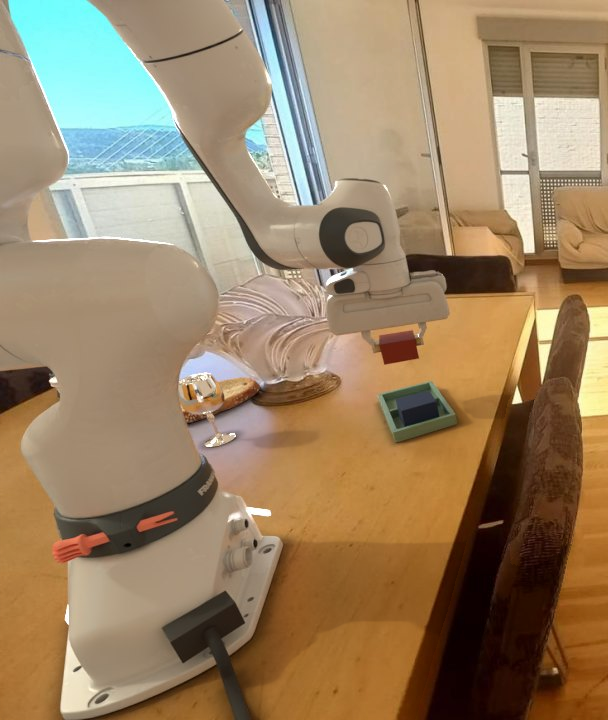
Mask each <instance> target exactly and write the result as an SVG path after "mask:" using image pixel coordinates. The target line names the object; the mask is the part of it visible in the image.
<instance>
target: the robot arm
mask: <svg viewBox="0 0 608 720" xmlns="http://www.w3.org/2000/svg"><path fill="white" fill-rule="evenodd" d="M86 2H88V3H90V4H91V5H92V6H93V7H94V8H96V9H97V10H98V11H99V12H100V13H101V14H102V15H103V16H104V17H105V18H106V19H107V21H108V22H109V24H110V25H111V26H112V28H113V30H114V31H115V32H116V33H117V35H118V36H119V38H120V39H121V40H122V41H123V43H124V45H125V46H126V47H127V48H128V49H129V51H130V53H131V54H133V56H134V57H135V58H136V60H137V61H138V62H139V63H140V65H141V66H142V67H143V68H144V70H145V71H146V72H147V74H148V75H149V76H150V77H151V79H152V80H153V82H154V83H155V85H156V86H157V88H158V90H159V91H160V93H161V94H162V96H163V97H164V99H165V101H166V102H167V105H168V106H169V108H170V110H171V111H170V113H171V118H172V121H173V124H174V126H175V128H176V131H177V132H178V134H179V136H180V137H181V139H182V141H183V143H184V144H185V146H186V148H187V149H188V150H189V152H190V153H191V155H192V156H193V158H194V159H195V160H196V162H197V163H198V165H199V166H200V167H201V169H202V170H203V172H204V174H205V175H206V177H207V178H208V179H209V181H210V182H211V184H212V185H213V186H214V188H215V189H216V191H217V192H218V193H219V195H220V196H221V198H222V199H223V201H224V202H225V204H226V206H227V207H228V208H229V209H230V211H231V213H232V214H233V215H234V217H235V219H236V221H237V223H238V225H239V227H240V230H241V232H242V234H243V237H244V239H245V242H246V244H247V246H248V248H249V249H250V251H251V253H252V254H253V255H254V256H255V258H256V259H257V260H258V261H260V262H261V263H262V264H264V265H266V266H267V267H269V268H271V269H274V270H279V271H290V270H291V271H294V270H304V269H306V270H307V269H308V270H312V269H313V270H344V271H341V272H338V273H336V274H333V275H331V276H330V277H329V278H328V279H327V281H326V282H325V289H326V292H327V294H328V296H327V299H326V303H325V316H326V322H327V326H328V330H329V332H330V333H331V334H333V335H335V336H337V337H339V336H344V335H350V334H357V333H360V334H361V338H362V339H363V340H364V341H366V342H367V343H368V345H370V346H371V349H372V353H373V354H377V353H381V349H380V345H379V340H375V339H374V338H373V337H372V336H371V335H372V331H377V330H378V331H379V330H385V329H390V328H397V327H403V326H404V327H405V326H411V325H416V324H417V327H418V329H419V331H418V333H417V334H414V337H415V341H416V346H417V347H418V346H419V347H420V346H424V345H425V343H424V335H425V334H426V331H427V323H430V322H436V321H437V322H438V321H442V320H443V321H444V320H447V319H448V318H449V316H450V314H451V311H450V307H449V304H448V300H447V297H446V294H445V293H446V291H447V288H448V285H447V281H446V277H445V276H444V275H443V273H441V272H439V271H436V270H433V269H431V270H427V271H412V272H410V271H409V267H408V261H407V256H406V253H405V251H404V250H403V247H402V245H401V228H400V222H399V217H398V215H397V211H396V210H397V209H396V207H395V203H394V201H393V198H392V195H391V193H390V191H389V190H388V187H387V186H386V185H385V184H384V183H382V182H381V181H377V180H374V179H369V178H357V177H350V178H349V177H348V178H347V177H346V178H340V179H338V180H336V181H335V183H334V189H333V190H332V191H331V192H330V194H328V196H327V197H325V198H324V199H323V200H321V201H319V202H317V203H316V204H305V205H304V204H303V205H302V204H301V205H297V204H296V205H295V204H291V203H288V202H286V201H284V200H282V199H281V198H280V197H278V196H277V195H276V193H274V191H273V189H272V187H271V186H270V184H269V183H268V181H267V179H266V177H264V174H263V173H262V171H261V170H260V168H259V166H258V165H257V163H256V161H255V159H254V158H253V156H252V155H251V152H250V151H249V148H248V146H247V142H246V135H247V132H248V131H249V129H250V128H252V127H253V126H254V125H255V124H256V123H257V122H259V121H260V120H261V118H263V117H264V115H265V114H266V113H267V111H268V109H269V107H270V104H271V100H272V94H273V81H272V79H271V76H270V74H269V71H268V69H267V66H266V64H265V63H264V60H263V58H262V56H261V55H260V53H259V52H258V50H257V48H256V46H254V44H253V42H252V41H251V38H249V36H248V34H247V32H246V31H245V29H244V28H243V27H242V25H241V23H240V22H239V20H238V18H237V17H236V16H235V14H234V13H233V11H232V9H231V8H230V7H229V5H228V4H227V2H226V1H225V0H86ZM14 22H15V21H14V20H13V18H12V13H11V10H10V3H9V0H0V372H5V371H14V370H15V371H16V370H23V369H24V370H25V369H34V368H45V367H47V368H48V369H49V370H50V371H51V372H52V374H53V373H54V375H55V377H56V379H57V382H58V385H59V390H60V398H59V401H57V402H56V403H53V404H52V405H51V406H50V407H48V408H47V409H45V410H44V411H42V412H41V413H40V414H39V415H38V416H36V417H35V418H34V419H33V420H32V421H31V423H30V424H29V425H28V427H26V430H25V431H24V433H23V436H22V438H21V441H20V452H21V455H22V457H23V458H24V460H25V461H26V463H27V464H28V466H29V467H30V469H31V471H32V472H33V474H34V475H35V477H36V479H37V480H38V482H39V484H40V485H41V487H42V488H43V490H44V492H45V493H46V495H47V496H48V498H49V499H50V501H51V502H52V504H53V505H54V509H53V517H54V520H55V528H56V530H57V534H58V537H59V538H60V539H61V540H58V541H55V542H54V543H53V545H52V548H51V551H52V557H54V558H53V559H54V560H55V561H56V563H57V564H65V563H67V606H66V613H65V617H64V621H65V622H66V623H67V625H68V629H67V630H68V631H67V639H66V648H65V658H64V666H63V667H64V668H63V677H62V686H61V695H60V706H59V712H60V714H61V716H62V719H64V720H87V719H92V718H96V717H100V716H104V715H107V714H110V713H113V712H116V711H120V710H123V709H125V708H128V707H130V706H134V705H136V704H138V703H141V702H143V701H146V700H148V699H150V698H153V697H154V696H157V695H161V694H162V693H164V692H166V691H168V690H170V689H173V688H175V687H178V686H179V685H181V684H183V683H185V682H187V681H190V680H191V679H193V678H194V677H197V676H199V675H200V674H202V673H204V672H206V671H207V670H209V669H211V668H213V667H214V666H217V670H218V672H219V675H220V678H221V681H222V684H223V688H224V691H225V693H226V697H227V699H228V703H229V705H230V709H231V712H232V715H233V718H234V720H252V719H251V715H250V712H249V709H248V706H247V704H246V701H245V698H244V695H243V692H242V689H241V686H240V683H239V680H238V678H237V675H236V672H235V669H234V666H233V663H232V660H231V657H230V656H231V655H232V654H235V653H236V652H237V651H238V650H239V649H240V648H242V647H243V646H244V645H245V644H247V643H248V642H250V640H251V639H252V637H253V636H254V634H255V632H256V630H257V629H256V628H257V626H258V623H259V620H260V617H261V614H262V611H263V607H264V606H265V605H264V604H265V602H266V599H267V595H268V593H269V590H270V587H271V585H272V584H271V583H272V581H273V577H274V575H275V572H276V569H277V566H278V562H279V560H280V557H281V554H282V550H283V548H284V542H283V541H282V539H281V538H280V537H279V536H275V535H263V534H262V533H261V530H260V529H259V526H258V524H257V523H256V521H255V519H254V517H253V515H258V516H264V517H269V516H271V515H272V513H271V510H270V509H265V508H264V509H263V508H257V507H256V508H255V507H249V506H247V504H246V502H245V500H244V498H243V497H242V496H241V495H238V494H235V493H232V492H229V491H227V490H225V489H223V488H221V487H219V481H218V479H217V477H216V474H215V473H216V472H215V470H214V469H215V468H214V467H213V465H212V464H211V463H210V462H209V460H208V458H207V457H206V456H205V455H204V454H202V453H201V452H199V450H198V448H197V445H196V443H195V441H194V439H193V436H192V434H191V431H190V429H189V425H188V424H187V423H186V420H185V417H184V414H183V411H182V408H181V405H180V400H179V390H178V387H179V380H180V378H181V371H182V369H183V366H184V363H185V362H186V360H187V358H188V356H189V355H190V353H191V352H192V351H193V349H195V347H197V345H198V344H199V343H200V342H202V341H203V340H204V339H205V338H206V337H207V336H208V334H209V333H210V332H211V330H212V329H213V327H214V325H215V324H216V321H217V320H218V316H219V311H220V295H219V290H218V287H217V284H216V281H215V280H214V278H213V276H212V275H211V273H210V272H209V270H208V269H207V268H206V266H205V265H203V263H202V262H201V261H200V260H198V259H197V258H196V257H195V256H194V255H193V254H191V253H190V252H189V251H187V250H185V249H184V248H183V247H181V246H178V245H176V244H173V243H167V242H159V241H151V240H143V239H135V238H134V239H133V238H124V237H122V238H121V237H113V236H112V237H111V236H102V237H84V238H81V237H80V238H64V239H63V238H61V239H46V240H32V238H31V234H30V230H29V212H30V208H31V205H32V203H33V202H34V199H35V198H36V197H37V196H38V194H39V193H41V192H43V191H44V190H46V189H48V188H50V187H51V186H53V185H55V184H56V183H58V182H59V181H60V180H61V179H62V178H63V177H64V176H65V174H66V173H67V170H68V167H69V163H70V155H69V154H70V153H69V149H68V147H67V145H66V142H65V140H64V137H63V135H62V132H61V130H60V128H59V126H58V123H57V120H56V117H55V116H54V113H53V110H52V108H51V106H50V103H49V101H48V98H47V95H46V93H45V90H44V88H43V86H42V84H41V81H40V79H39V76H38V74H37V70H36V68H35V66H34V64H33V61H32V59H31V57H30V54H29V52H28V50H27V48H26V45H25V43H24V41H23V38H22V36H21V34H20V32H19V30H18V29H17V27H16V24H15V23H14Z"/></svg>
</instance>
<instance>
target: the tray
mask: <svg viewBox="0 0 608 720" xmlns="http://www.w3.org/2000/svg"><path fill="white" fill-rule="evenodd" d="M428 390H429V391H430V392H431V394H432V395H433V397H434V398H436V397H438V398H439V403H440V405H437V406H438V411H439V416H440V417H438V418H434V419H431V420H427V421H424V422H421V423H417V424H414V425H410V426H407V427H404V425H403V423H402V421H401V419H400V416H397V417H394V418H392V416H391V414H390V410H391V409H395V408H397V404H396V399H398V398H402V397H406V396H409V395H413V394H417V393H421V392H424V391H428ZM376 396H377V399H378V403H379V406H380V408H381V411H382V413H383V416H384V418H385V420H386V421H385V422H386V423H387V426H388V428H389V430H390V433H391V436H392V438H393V440H394V443H396V444H397V443H400V442H403V441H406V440H409V439H413V438H417V437H420V436H423V435H426V434H429V433H434V432H436V431H439V430H442V429H443V430H444V429H446V428H450V427H452V426H455V425H458V421H457V416H456V413H455V412H454V410H453V409H452V407H451V406H450V405H449V403H448V402H447V400H446V398H445V397H444V396H443V394H442V393H441V391H440V390H439V388H438V387H437V386H436V384H435V383H434V381H433V380H429V381H424V382H421V383H417V384H413V385H409V386H405V387H401V388H397V389H394V390H389V391H385V392H382V393H377V394H376Z"/></svg>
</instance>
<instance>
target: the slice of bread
mask: <svg viewBox="0 0 608 720" xmlns="http://www.w3.org/2000/svg"><path fill="white" fill-rule="evenodd" d="M217 382H218V383H219V385H220V386H221V388H222V390H223V392H224V398H225V399H224V403H223V404H222V406H221V407H220V408H218V409H217V410H215V411H213V412H211V414H213V415H214V416H215V415H217V414H219V413H221V412H224V411H227V410H229V409H233V408H234V407H237V406H239V405H240V404H242V403H244V402H247V401H248V400H250V399H252V398H253V397H254V396H255V395H256V394H257V393H258V392H260V389H261V385H260V384H259V383H258V382H257V381H256V380H255V379H252V378H251V377H245V376H244V377H243V376H241V377H240V376H239V377H235V378H229V379H224V380H220V381H217ZM180 405H181V404H180ZM181 408H182V411H183V414H184V417H185V420H186V423H187V425H188V424H191V423H195V422H198V421H202V420H204V419H207V414H191V413H189V412H187V411H185V410H184V409H183V407H182V406H181Z"/></svg>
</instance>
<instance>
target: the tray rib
mask: <svg viewBox="0 0 608 720" xmlns="http://www.w3.org/2000/svg"><path fill="white" fill-rule="evenodd" d="M435 400H436V401H437V405H440V403H439V398H438V397H436V398H435ZM390 414H391V416H392V418H394V417H397V416H399V412H398V408H395V409H391V410H390Z"/></svg>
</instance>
